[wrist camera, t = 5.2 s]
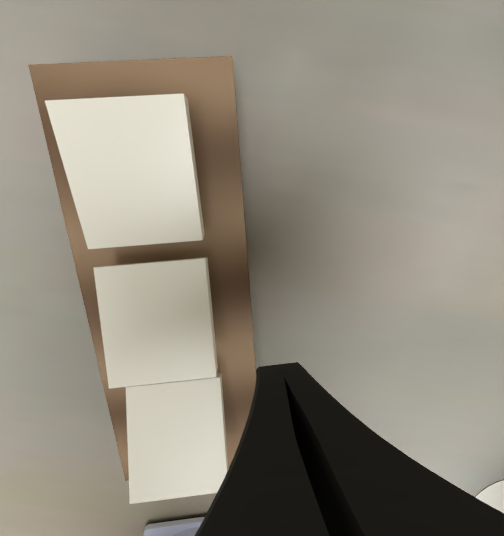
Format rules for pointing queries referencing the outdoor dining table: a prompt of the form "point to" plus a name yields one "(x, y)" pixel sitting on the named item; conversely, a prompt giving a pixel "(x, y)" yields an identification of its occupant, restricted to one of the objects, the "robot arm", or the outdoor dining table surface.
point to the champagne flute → (493, 496)
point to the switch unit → (212, 205)
